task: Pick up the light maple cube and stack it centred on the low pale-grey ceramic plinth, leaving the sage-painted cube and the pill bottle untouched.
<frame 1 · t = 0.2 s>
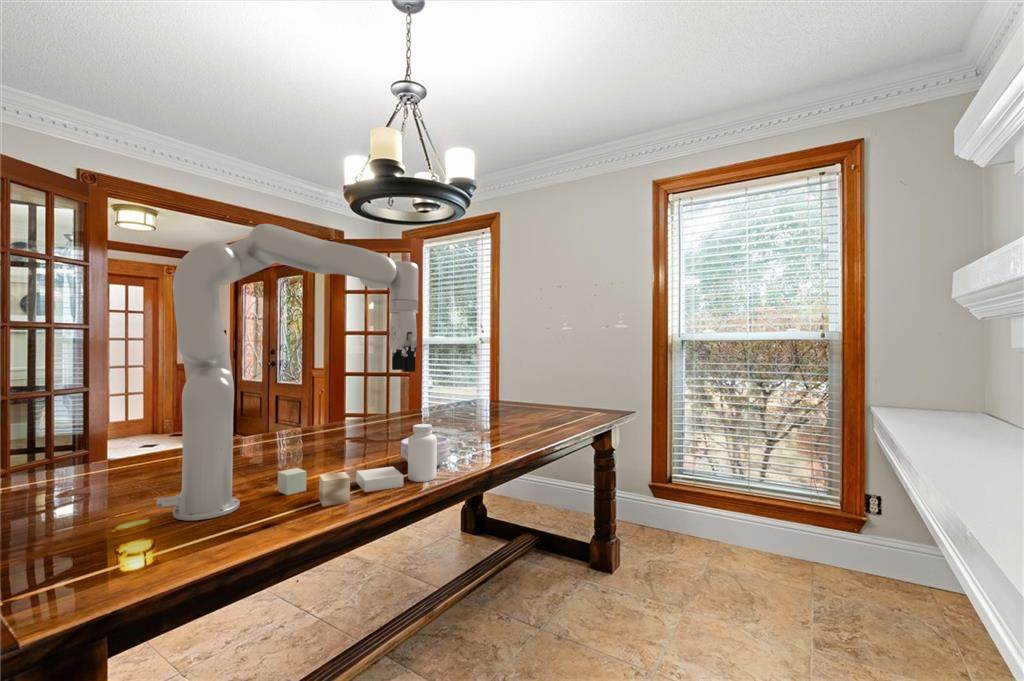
hand: (403, 370, 129), 31 cm above the table, tool pointing down, fingers open, 9 cm apart
sage cube: (292, 491, 121), on the table
maple cube: (334, 501, 114), on the table
plinth: (379, 484, 128), on the table
paper bowls: (425, 465, 149), on the table
pill bottle: (422, 479, 134), on the table
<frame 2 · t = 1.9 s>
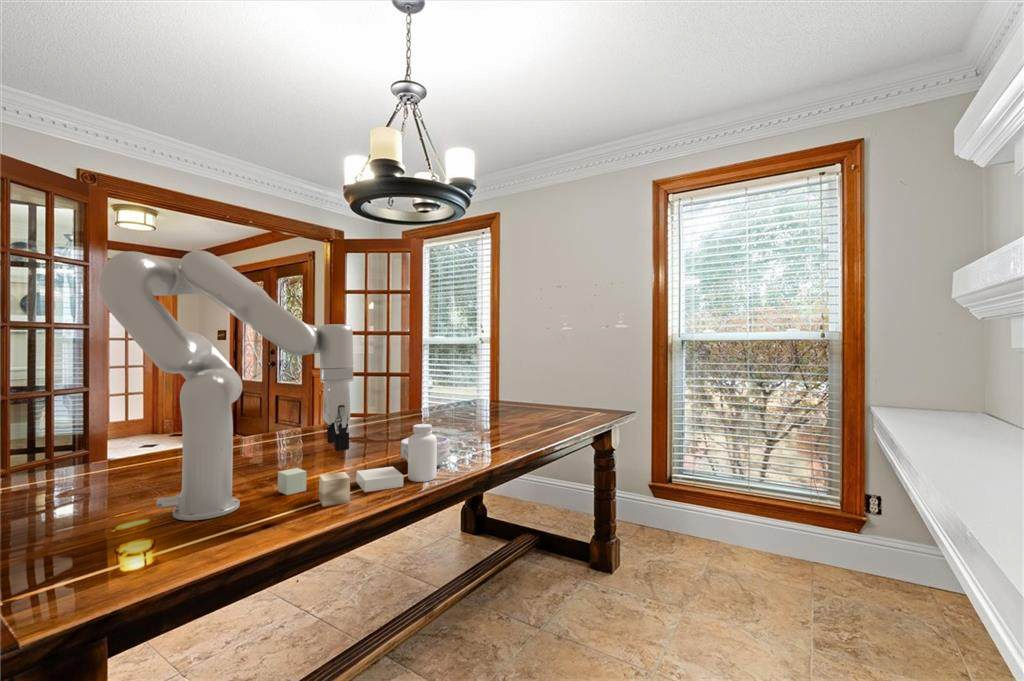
hand: (337, 446, 114), 13 cm above the table, tool pointing down, fingers open, 9 cm apart
nothing on the table moved.
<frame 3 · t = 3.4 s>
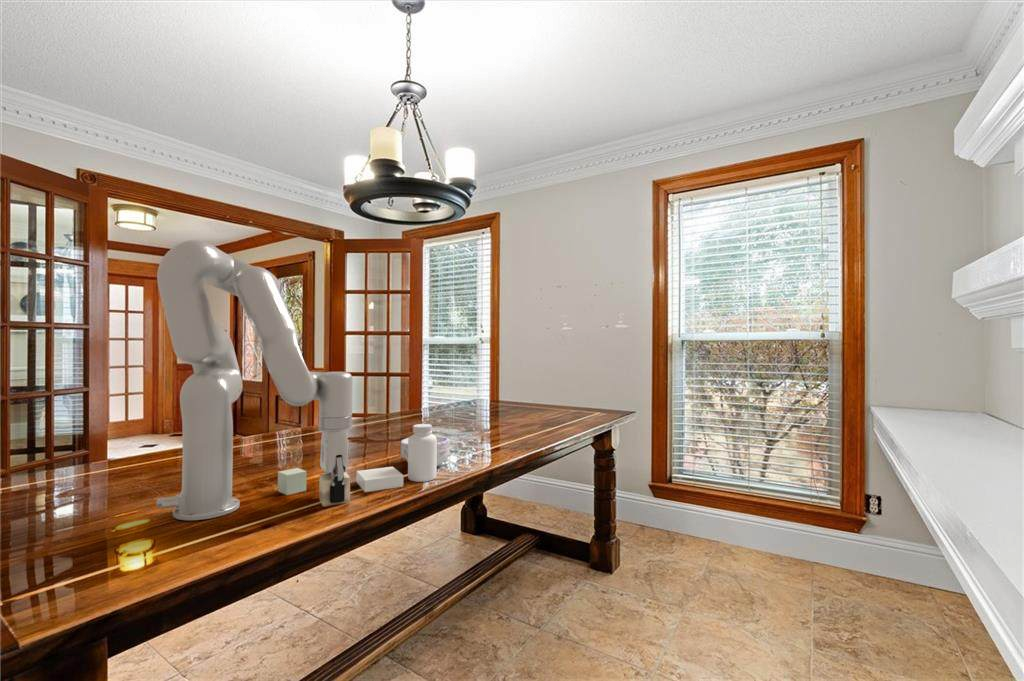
hand: (334, 497, 114), 1 cm above the table, tool pointing down, fingers closed on maple cube, 6 cm apart
maple cube: (334, 500, 114), on the table, touching gripper
everything else where it was.
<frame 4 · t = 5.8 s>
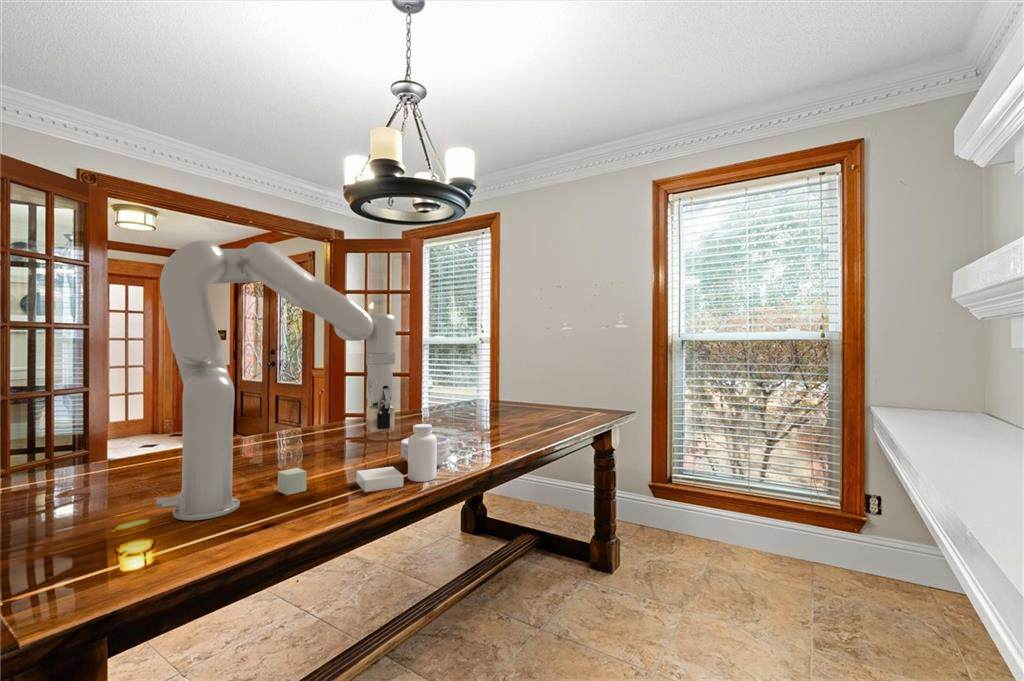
hand: (380, 425, 128), 16 cm above the table, tool pointing down, fingers closed on maple cube, 6 cm apart
maple cube: (380, 429, 128), point 15 cm above the table, touching gripper
everything else where it was.
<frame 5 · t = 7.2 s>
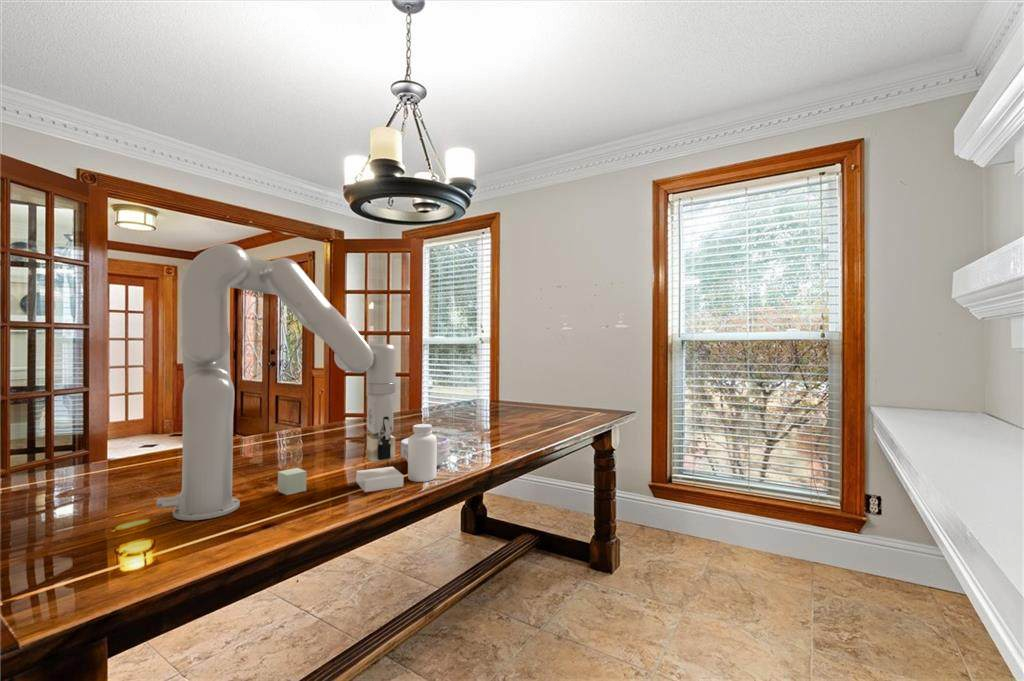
hand: (380, 455, 128), 8 cm above the table, tool pointing down, fingers closed on maple cube, 6 cm apart
maple cube: (380, 458, 128), point 7 cm above the table, touching gripper
everything else where it was.
when the fingers open (5 cm above the table, at t = 8.2 s): maple cube drops 1 cm, resting on plinth.
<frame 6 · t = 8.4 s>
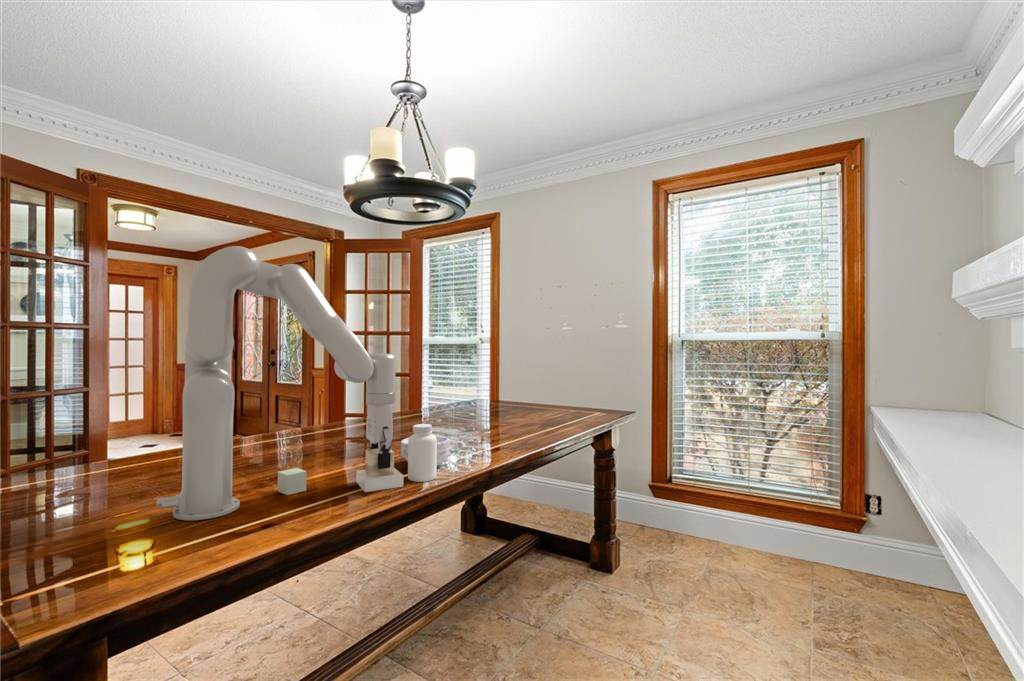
hand: (379, 464, 128), 5 cm above the table, tool pointing down, fingers open, 7 cm apart
maple cube: (379, 473, 128), point 3 cm above the table, touching plinth
everything else where it was.
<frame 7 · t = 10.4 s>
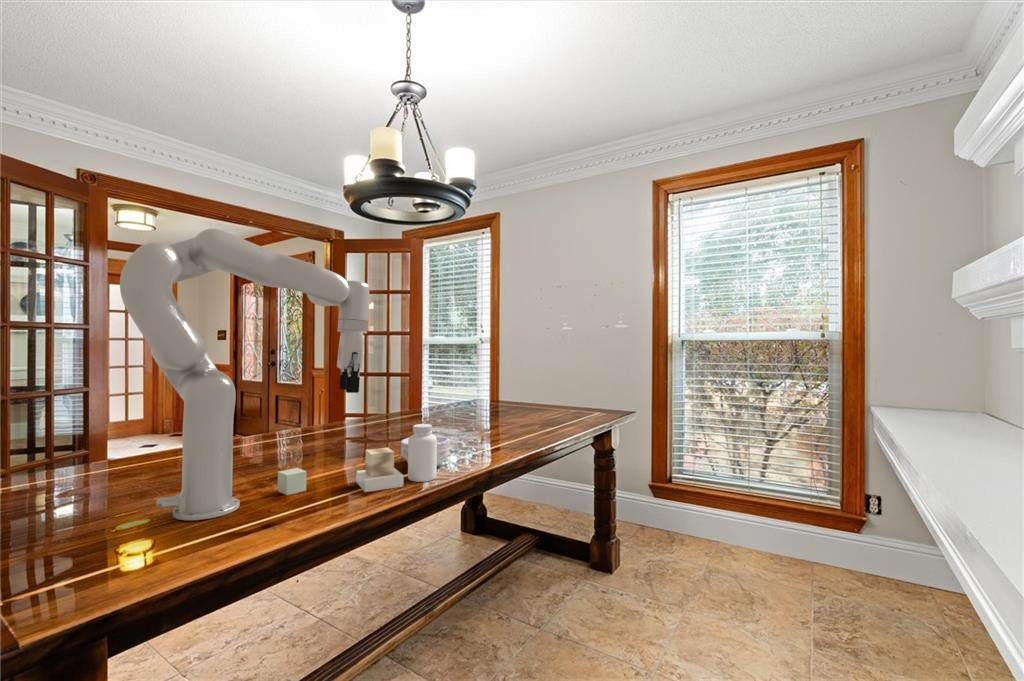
hand: (348, 390, 127), 25 cm above the table, tool pointing down, fingers open, 9 cm apart
nothing on the table moved.
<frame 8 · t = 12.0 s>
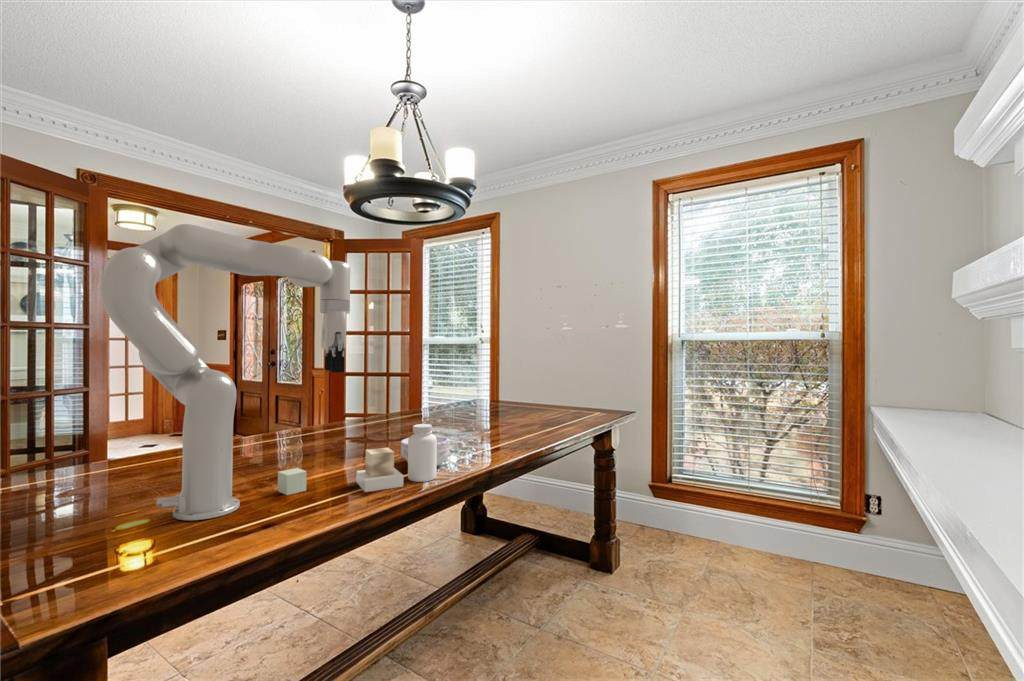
hand: (334, 371, 127), 30 cm above the table, tool pointing down, fingers open, 9 cm apart
nothing on the table moved.
at the end: maple cube inside the target area on the plinth (0.0 cm from its centre), point 3.0 cm above the plinth's base; maple cube tilted 0°; the gripper is holding nothing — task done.
